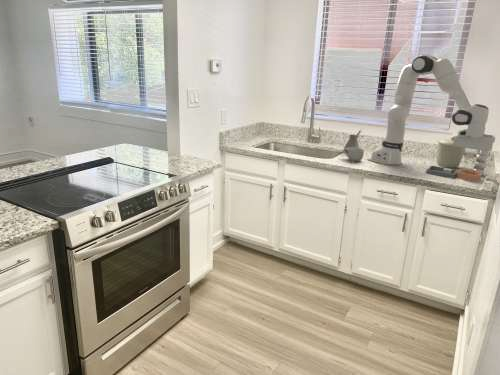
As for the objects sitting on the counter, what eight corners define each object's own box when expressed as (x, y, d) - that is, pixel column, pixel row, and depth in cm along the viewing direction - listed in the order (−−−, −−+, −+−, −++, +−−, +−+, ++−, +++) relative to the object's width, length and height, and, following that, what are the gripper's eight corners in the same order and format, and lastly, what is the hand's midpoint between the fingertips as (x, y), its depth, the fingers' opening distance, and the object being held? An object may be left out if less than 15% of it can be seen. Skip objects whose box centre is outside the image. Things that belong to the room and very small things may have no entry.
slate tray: (425, 174, 235) (426, 169, 234) (430, 169, 245) (431, 165, 244) (453, 179, 226) (454, 174, 225) (456, 174, 237) (457, 170, 236)
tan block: (466, 156, 227) (467, 151, 226) (473, 157, 225) (475, 152, 224) (465, 157, 224) (466, 152, 223) (472, 158, 222) (474, 153, 221)
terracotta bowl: (455, 179, 226) (457, 172, 225) (458, 175, 236) (460, 168, 234) (478, 184, 220) (480, 176, 218) (480, 179, 229) (482, 172, 228)
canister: (463, 166, 258) (470, 136, 251) (460, 172, 244) (468, 139, 237) (435, 161, 268) (441, 132, 261) (430, 166, 253) (436, 135, 246)
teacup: (365, 160, 260) (367, 149, 258) (358, 163, 253) (359, 151, 250) (347, 156, 269) (348, 145, 267) (339, 159, 261) (341, 147, 259)
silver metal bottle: (470, 176, 235) (478, 144, 229) (471, 174, 240) (479, 143, 234) (482, 178, 232) (490, 146, 225) (483, 176, 237) (491, 144, 231)
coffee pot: (356, 155, 275) (359, 134, 270) (341, 152, 280) (343, 132, 276) (365, 150, 291) (368, 131, 287) (351, 148, 297) (353, 129, 293)
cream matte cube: (442, 174, 234) (443, 169, 233) (443, 172, 237) (444, 167, 236) (450, 175, 231) (451, 170, 230) (451, 174, 234) (452, 169, 233)
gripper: (496, 134, 217) (490, 158, 221) (456, 130, 228) (452, 152, 232) (495, 136, 212) (489, 160, 216) (455, 131, 223) (450, 154, 227)
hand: (469, 156), depth 224 cm, fingers closed on tan block, 4 cm apart
